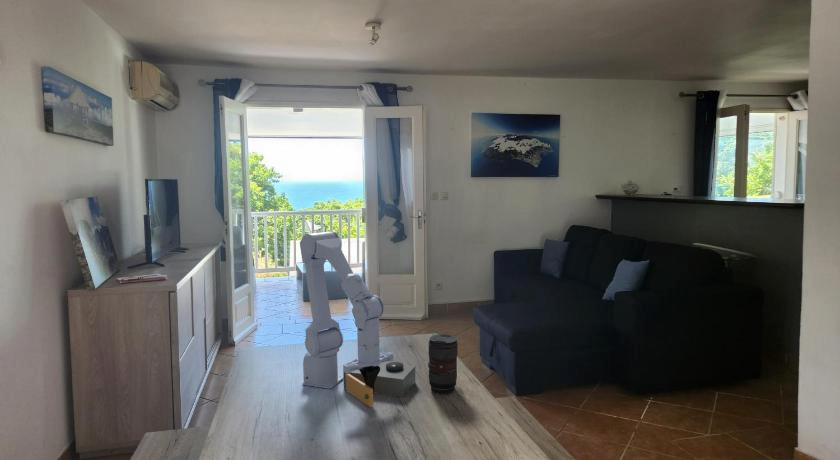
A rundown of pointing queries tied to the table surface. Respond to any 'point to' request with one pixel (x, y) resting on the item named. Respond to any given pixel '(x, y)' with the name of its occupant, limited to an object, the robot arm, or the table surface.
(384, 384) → the camera housing
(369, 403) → the side door
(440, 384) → the camera lens
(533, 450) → the table surface
